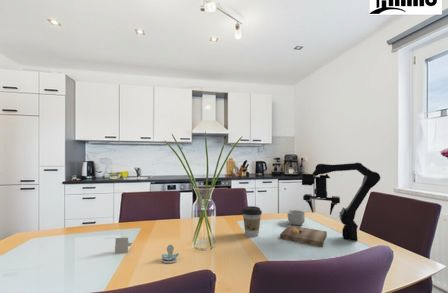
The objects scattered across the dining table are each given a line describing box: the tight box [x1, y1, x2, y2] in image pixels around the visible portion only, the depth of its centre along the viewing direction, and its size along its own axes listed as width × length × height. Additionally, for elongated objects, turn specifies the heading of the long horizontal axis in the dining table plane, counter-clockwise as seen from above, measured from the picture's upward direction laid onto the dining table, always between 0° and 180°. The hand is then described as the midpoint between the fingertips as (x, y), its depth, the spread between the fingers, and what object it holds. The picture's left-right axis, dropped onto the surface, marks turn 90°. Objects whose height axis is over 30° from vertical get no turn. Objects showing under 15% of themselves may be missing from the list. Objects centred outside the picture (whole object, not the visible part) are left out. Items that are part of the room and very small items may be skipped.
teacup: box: [286, 209, 306, 227], centre depth 148 cm, size 14×11×8 cm
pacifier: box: [161, 244, 180, 264], centre depth 96 cm, size 7×6×6 cm
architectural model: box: [114, 236, 133, 255], centre depth 105 cm, size 3×7×7 cm, turn 98°
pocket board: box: [279, 224, 328, 248], centre depth 123 cm, size 21×18×2 cm
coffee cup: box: [241, 205, 263, 238], centre depth 127 cm, size 11×11×15 cm
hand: (321, 213), depth 127 cm, fingers open, 9 cm apart
